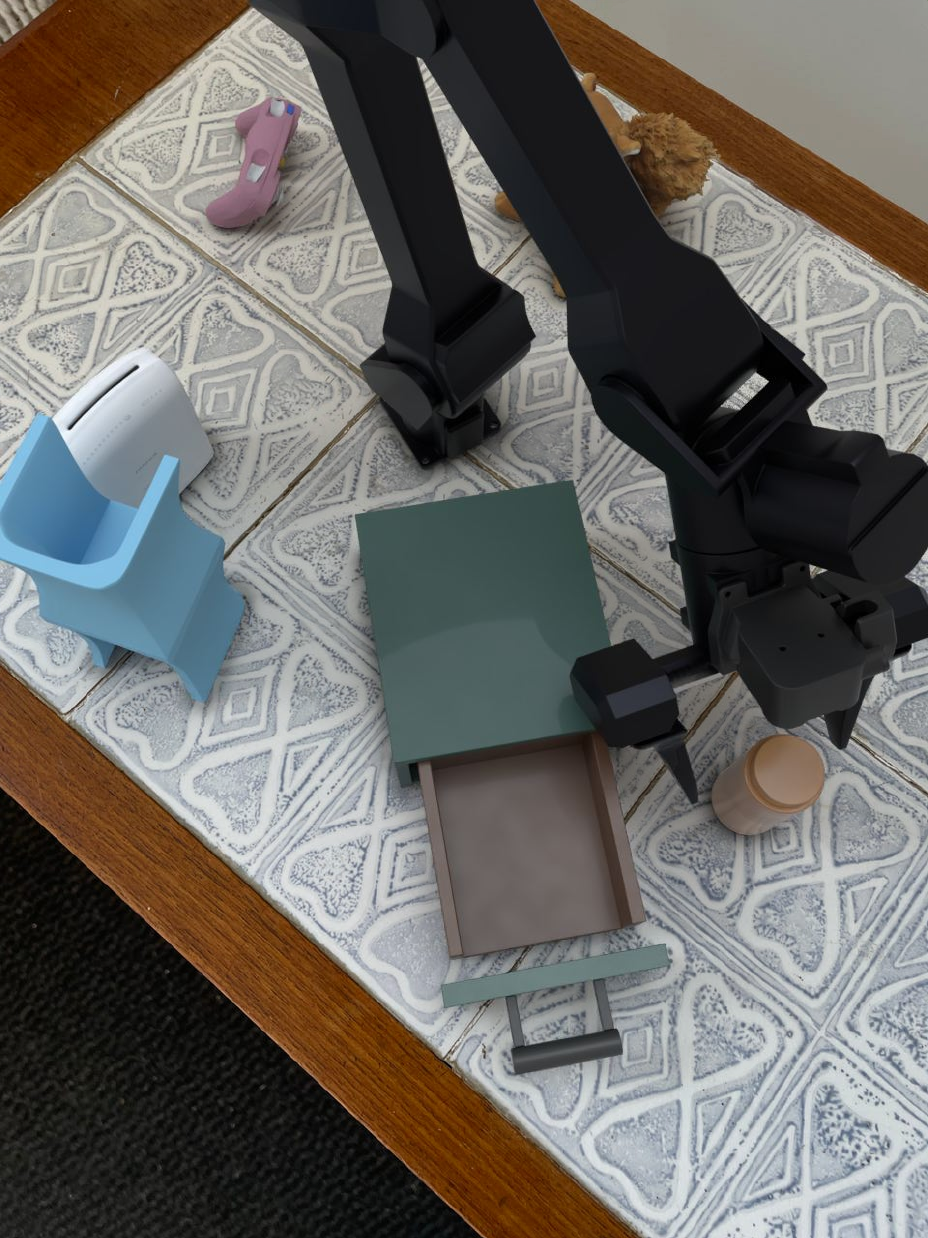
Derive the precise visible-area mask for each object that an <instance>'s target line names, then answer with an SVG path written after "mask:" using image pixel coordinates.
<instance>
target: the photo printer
mask: <svg viewBox="0 0 928 1238" xmlns="http://www.w3.org/2000/svg"><path fill="white" fill-rule="evenodd" d="M190 399H191V398H190V397H189V395H188V393H187V391H186V389H185V387H184V386H183V383H182V382H181V380H180V379H179V377H178V375H177V374H176V372H175V370H174V369H173V368H172V366H171V365H170V364H169V363H168V362H167V361H165V360H164V359H163V358H161V357H158V356H157V355H155V354H154V353H153V352H152V351H151V350H150V349H149V348H148V347H144V346H141V347H139V348H136V349H134V350H132V351H130V352H127V353H126V354H124V355H123V356H121V357H119V358H118V359H116V360H115V361H113V362H112V363H110V364H109V365H107V366H106V367H104V368H103V369H102V370H101V371H99V372H98V373H97V374H96V375H95V376H92V377H91V378H90V379H89V380H88V382H87V383H86V384H84V385H83V386H81V387H80V388H79V390H78V391H77V392H76V393H75V394H73V395H72V396H71V397H70V398H69V399H68V400H67V402H65V404H63V406H62V407H61V408H60V409H59V410H58V411H57V412H56V413H55V414H54V416H53V417H51V418H52V420H53V421H54V423H55V424H56V426H57V428H58V430H59V432H60V434H61V435H62V437H63V439H64V441H65V443H66V445H67V446H68V448H69V450H70V452H71V454H72V455H73V457H74V459H75V461H76V462H77V464H78V466H79V467H80V469H81V470H82V472H83V474H84V475H85V477H86V478H87V480H88V481H89V482H90V483H91V485H92V486H93V487H94V488H95V489H96V490H97V491H98V492H99V493H100V494H101V495H103V496H104V497H106V498H108V499H110V500H113V501H116V502H119V503H122V504H125V505H128V506H131V507H133V508H136V509H139V507H140V505H141V503H142V501H143V499H144V497H145V495H146V492H147V490H148V488H149V486H150V484H151V482H152V480H153V478H154V476H155V474H156V472H157V469H158V467H159V465H160V463H161V461H162V459H163V457H164V455H165V454H166V455H169V456H172V457H175V458H178V459H180V471H179V488H178V489H179V495H180V494H182V492H183V491H184V490H185V489H186V488H187V487H188V486H189V485H190V484H191V483H192V481H193V480H194V479H196V477H198V476H199V474H200V473H201V472H202V471H203V470H204V469H205V468H206V466H207V465H208V464H209V462H210V461H211V459H212V458H213V457H214V452H215V451H214V448H213V446H212V444H211V441H210V439H209V437H208V434H207V433H206V430H205V429H204V427H203V425H202V422H201V420H200V418H199V416H198V414H197V412H196V410H195V408H194V405H193V404H192V402H191V400H190Z"/></svg>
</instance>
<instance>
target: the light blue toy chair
mask: <svg viewBox="0 0 928 1238" xmlns="http://www.w3.org/2000/svg"><path fill="white" fill-rule="evenodd" d="M52 418H53V417H51V416H48V415H45V414H41V413H39V412H38V413H37V412H36V414H35V417H34V419H33V421H32V422H31V424H30V426H29V428H28V429H27V432H26V433H25V436H24V438H23V439H22V441H21V443H20V445H19V447H18V449H17V451H16V452H15V455H14V457H13V458H12V460H11V462H10V464H9V466H8V467H7V470H6V471H5V474H4V476H3V477H2V479H1V481H0V561H1V562H3V563H6V564H9V565H10V566H12V567H15V568H16V569H19V570H20V571H23V572H24V573H26V574H27V575H28V576H29V577H30V578H31V580H32V582H33V583H34V585H35V587H36V591H37V594H38V605H39V606H38V616H39V617H40V618H41V619H42V620H44V622H46V623H49V624H52V625H55V626H58V627H61V628H64V629H66V630H68V631H70V632H72V633H74V634H75V635H77V636H79V637H81V638H82V639H83V641H84V642H85V643H86V644H87V646H88V647H89V650H90V652H91V657H92V663H93V665H94V666H96V667H100V668H102V669H106V667H107V665H108V662H109V661H110V658H111V656H112V654H113V652H114V650H115V648H116V646H117V647H121V648H122V649H123V648H124V649H125V650H126V649H127V650H129V651H132V652H135V653H137V654H140V655H142V656H144V657H147V658H151V659H153V660H157V661H160V662H162V663H165V664H167V665H168V666H169V667H170V668H171V669H173V671H174V672H175V674H177V676H178V677H179V678H180V680H181V682H182V683H183V685H184V687H185V689H186V690H187V692H188V694H189V695H190V697H191V699H192V700H195V701H197V702H201V703H203V704H206V702H207V700H208V697H209V696H210V693H211V691H212V688H213V686H214V684H215V682H216V679H217V676H218V675H219V672H220V670H221V667H222V665H223V663H224V661H225V658H226V656H227V653H228V651H229V650H230V647H231V644H232V642H233V640H234V638H235V635H236V633H237V631H238V628H239V626H240V623H241V621H242V618H243V615H244V612H245V607H246V604H245V600H244V598H243V595H242V594H241V593H240V591H239V590H238V589H236V588H235V587H233V586H231V584H230V583H229V582H228V580H227V578H226V575H225V569H224V561H225V560H224V559H225V550H226V544H227V543H226V541H225V538H224V537H223V536H222V535H220V534H218V533H214V532H212V531H211V530H208V529H206V528H204V527H201V526H200V525H198V523H195V522H194V521H192V520H191V518H189V516H188V515H187V514H186V512H185V511H184V509H183V506H182V503H181V499H180V498H181V497H180V494H179V489H178V488H179V471H180V459H178V458H175V457H172V456H169V455H166V454H165V455H164V457H163V459H162V461H161V463H160V465H159V467H158V469H157V472H156V474H155V476H154V478H153V480H152V482H151V484H150V486H149V488H148V490H147V492H146V495H145V497H144V499H143V501H142V503H141V505H140V507H139V509H136V508H133V507H131V506H128V505H125V504H122V503H119V502H116V501H113V500H110V499H108V498H106V497H104V496H103V495H101V494H100V493H99V492H98V491H97V490H96V489H95V488H94V487H93V486H92V485H91V483H90V482H89V481H88V480H87V478H86V477H85V475H84V474H83V472H82V470H81V469H80V467H79V466H78V464H77V462H76V461H75V459H74V457H73V455H72V454H71V452H70V450H69V448H68V446H67V445H66V443H65V441H64V439H63V437H62V435H61V434H60V432H59V430H58V428H57V426H56V424H55V423H54V421H53V420H52Z"/></svg>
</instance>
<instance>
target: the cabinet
mask: <svg viewBox="0 0 928 1238" xmlns="http://www.w3.org/2000/svg"><path fill="white" fill-rule="evenodd" d="M354 520H355V528H356V533H357V539H358V545H359V546H358V547H359V553H360V560H361V565H362V571H363V578H364V585H365V590H366V597H367V603H368V610H369V616H370V622H371V628H372V635H373V640H374V641H373V642H374V646H375V647H374V648H375V653H376V661H377V666H378V672H379V679H380V684H381V691H382V698H383V705H384V710H385V716H386V717H385V718H386V722H387V730H388V736H389V742H390V748H391V755H392V761H393V765H394V768H395V769H394V770H395V772H396V773H395V774H396V776H397V780H398V784H399V787H400V788H405V787H411V786H416V785H417V786H418V785H421V783H420V777H419V771H418V765H417V762H421V761H427V760H433V759H439V758H445V757H450V756H456V755H462V754H468V753H473V752H479V751H485V750H491V749H496V748H502V747H508V746H514V745H520V744H525V743H531V742H537V741H543V740H548V739H554V738H560V737H566V736H571V735H577V734H583V733H589V732H594V731H596V729H595V728H594V726H593V725H592V723H591V722H590V721H589V719H588V718H587V716H586V715H585V714H584V712H583V711H582V709H581V708H580V707H579V705H578V704H577V702H576V701H575V698H574V694H573V690H572V685H571V681H570V677H569V675H570V673H571V670H572V668H573V666H574V664H575V661H576V659H577V658H578V657H581V656H584V655H587V654H590V653H592V652H595V651H598V650H601V649H604V648H607V647H610V646H612V642H611V639H610V635H609V630H608V626H607V621H606V617H605V612H604V608H603V603H602V599H601V595H600V590H599V586H598V581H597V577H596V572H595V569H594V564H593V560H592V555H591V552H590V546H589V541H588V538H587V533H586V529H585V525H584V520H583V516H582V511H581V507H580V504H579V499H578V494H577V490H576V486H575V481H574V479H567V480H561V481H554V482H548V483H542V484H536V485H529V486H523V487H516V488H511V489H505V490H498V491H492V492H485V493H479V494H473V495H467V496H461V497H455V498H448V499H447V498H446V499H442V500H436V501H429V502H422V503H416V504H410V505H404V506H398V507H392V508H391V507H390V508H384V509H380V510H379V509H378V510H373V511H367V512H366V511H365V512H361V513H355V514H354ZM608 749H609V752H611V751H612V750H613V749H614V747H608Z"/></svg>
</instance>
